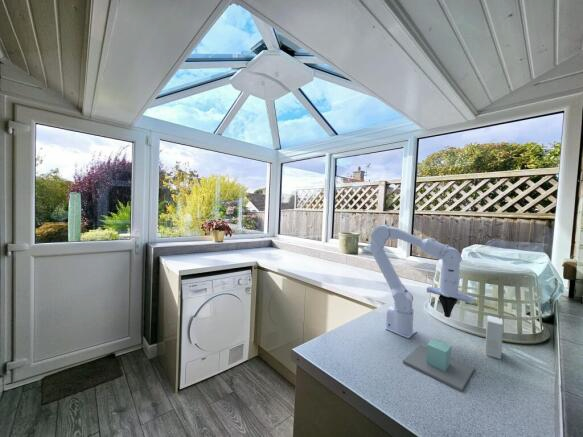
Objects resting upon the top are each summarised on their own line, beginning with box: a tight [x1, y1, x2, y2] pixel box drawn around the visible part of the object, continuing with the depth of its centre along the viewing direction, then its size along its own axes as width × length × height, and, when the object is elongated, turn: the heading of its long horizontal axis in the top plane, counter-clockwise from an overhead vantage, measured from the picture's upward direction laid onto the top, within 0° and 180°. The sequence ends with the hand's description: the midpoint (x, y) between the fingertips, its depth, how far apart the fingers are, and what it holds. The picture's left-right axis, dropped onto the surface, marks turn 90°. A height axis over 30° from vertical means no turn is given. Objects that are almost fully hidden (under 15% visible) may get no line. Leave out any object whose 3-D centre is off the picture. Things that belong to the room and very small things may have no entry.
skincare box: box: [484, 315, 504, 360], centre depth 85 cm, size 6×4×12 cm
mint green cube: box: [426, 338, 452, 371], centre depth 77 cm, size 5×5×6 cm
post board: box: [402, 344, 476, 393], centre depth 77 cm, size 16×14×6 cm
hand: (447, 316), depth 91 cm, fingers closed
